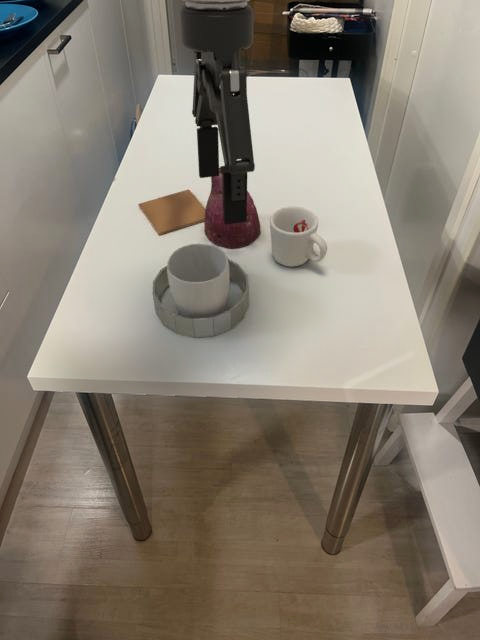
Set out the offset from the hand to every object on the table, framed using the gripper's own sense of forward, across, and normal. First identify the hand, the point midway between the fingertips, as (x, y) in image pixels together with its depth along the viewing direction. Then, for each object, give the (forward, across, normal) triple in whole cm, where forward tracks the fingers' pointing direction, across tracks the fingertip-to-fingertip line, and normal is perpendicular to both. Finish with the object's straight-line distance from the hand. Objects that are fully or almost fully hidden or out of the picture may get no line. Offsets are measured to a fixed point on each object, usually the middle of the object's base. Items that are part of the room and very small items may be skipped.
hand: (221, 197), depth 64 cm
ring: (+20, +4, +2) cm, 21 cm away
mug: (+20, +5, +2) cm, 21 cm away
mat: (+17, +31, +2) cm, 35 cm away
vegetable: (+18, +21, -7) cm, 29 cm away
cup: (+19, +10, -16) cm, 27 cm away
